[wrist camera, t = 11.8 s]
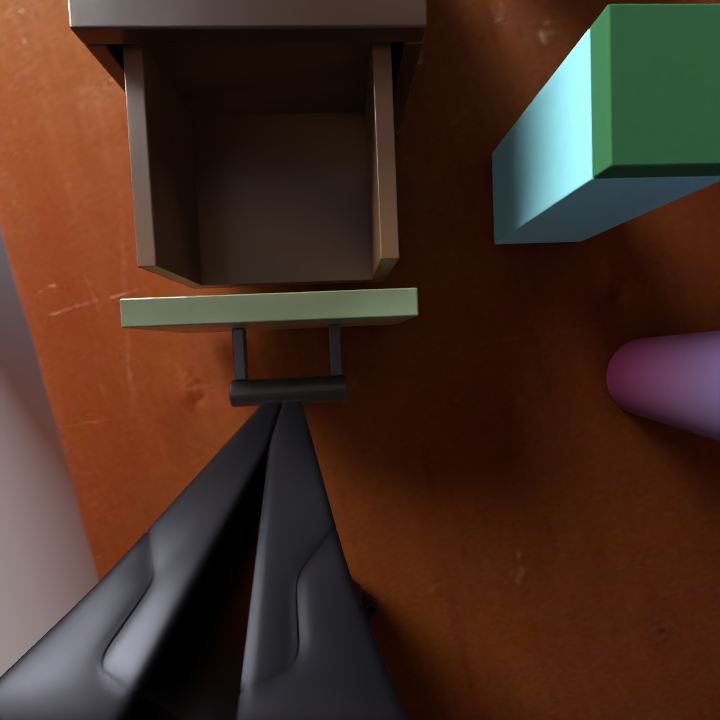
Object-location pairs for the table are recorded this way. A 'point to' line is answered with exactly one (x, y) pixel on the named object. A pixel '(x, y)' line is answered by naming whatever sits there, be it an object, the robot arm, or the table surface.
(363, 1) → the cabinet
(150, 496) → the table surface
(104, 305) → the table surface
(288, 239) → the drawer
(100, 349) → the table surface
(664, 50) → the sponge
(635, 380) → the cup
